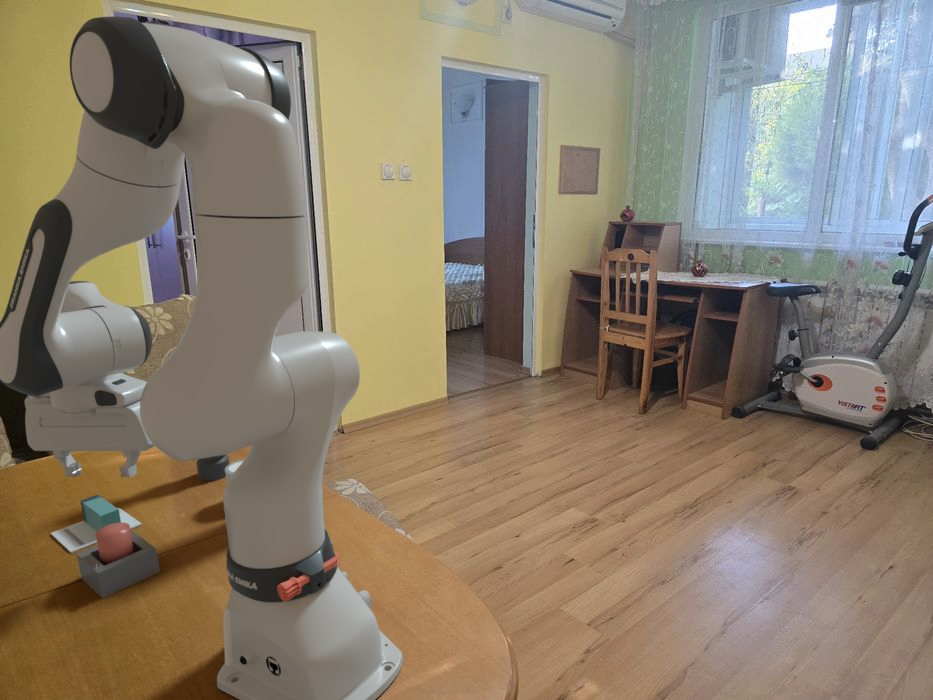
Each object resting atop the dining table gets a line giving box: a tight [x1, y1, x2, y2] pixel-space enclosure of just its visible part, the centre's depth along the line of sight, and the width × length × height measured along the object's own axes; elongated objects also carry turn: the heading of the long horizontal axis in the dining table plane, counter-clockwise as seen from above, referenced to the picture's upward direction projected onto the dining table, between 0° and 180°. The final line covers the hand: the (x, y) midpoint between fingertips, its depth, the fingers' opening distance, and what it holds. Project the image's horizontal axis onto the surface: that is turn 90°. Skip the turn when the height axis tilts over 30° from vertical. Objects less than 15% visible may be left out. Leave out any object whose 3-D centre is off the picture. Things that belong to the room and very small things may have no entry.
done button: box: [96, 523, 134, 566], centre depth 89 cm, size 4×4×5 cm
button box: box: [76, 531, 160, 599], centre depth 90 cm, size 8×8×4 cm
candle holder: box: [196, 454, 230, 482], centre depth 121 cm, size 6×6×25 cm
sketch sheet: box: [50, 507, 143, 554], centre depth 103 cm, size 10×11×1 cm
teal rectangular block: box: [80, 494, 121, 531], centre depth 104 cm, size 9×3×4 cm, turn 51°
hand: (101, 475), depth 92 cm, fingers open, 8 cm apart
